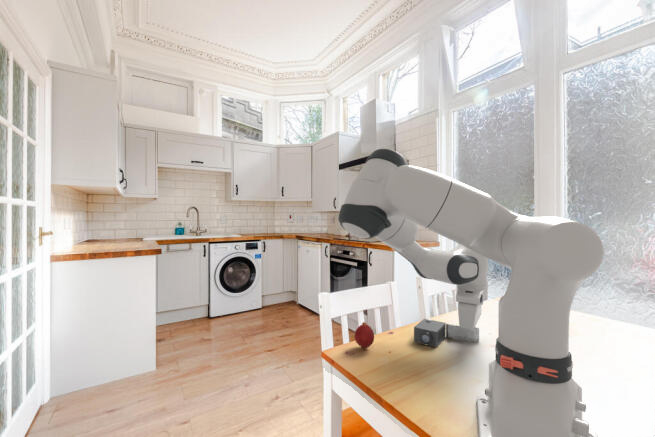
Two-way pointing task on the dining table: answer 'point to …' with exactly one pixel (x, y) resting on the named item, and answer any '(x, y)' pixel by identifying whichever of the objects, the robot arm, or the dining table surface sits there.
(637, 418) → the dining table surface
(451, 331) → the side door
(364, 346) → the onion
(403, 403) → the dining table surface
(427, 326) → the camera body
